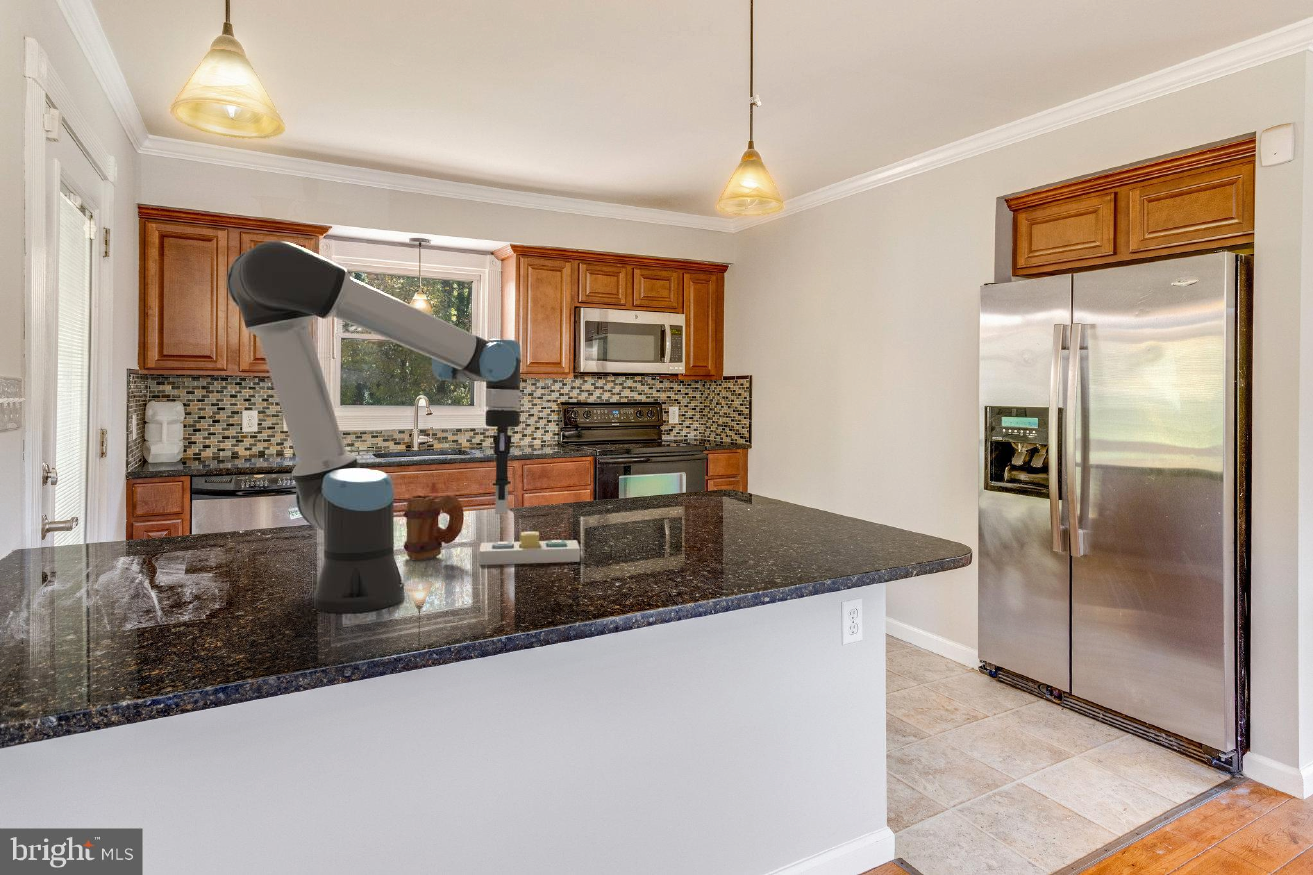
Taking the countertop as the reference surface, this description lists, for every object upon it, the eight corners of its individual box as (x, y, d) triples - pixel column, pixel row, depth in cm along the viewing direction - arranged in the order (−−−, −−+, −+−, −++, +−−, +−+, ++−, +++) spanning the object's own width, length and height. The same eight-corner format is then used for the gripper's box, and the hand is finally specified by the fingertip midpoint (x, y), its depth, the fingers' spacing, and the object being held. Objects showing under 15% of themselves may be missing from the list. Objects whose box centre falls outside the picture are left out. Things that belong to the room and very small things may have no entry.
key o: (493, 559, 161) (493, 544, 161) (494, 555, 165) (494, 541, 165) (511, 559, 162) (511, 544, 161) (512, 555, 166) (511, 540, 165)
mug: (394, 560, 161) (393, 494, 160) (416, 553, 169) (415, 489, 168) (451, 566, 157) (450, 497, 156) (471, 558, 164) (471, 492, 163)
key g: (548, 558, 163) (548, 543, 163) (547, 554, 167) (547, 539, 167) (565, 557, 164) (565, 542, 164) (564, 553, 168) (564, 539, 168)
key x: (521, 549, 162) (521, 534, 162) (520, 545, 166) (520, 531, 166) (539, 548, 163) (539, 534, 163) (538, 545, 167) (538, 530, 166)
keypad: (479, 564, 158) (479, 551, 158) (481, 555, 167) (481, 542, 167) (579, 561, 162) (579, 548, 162) (576, 552, 171) (576, 540, 171)
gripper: (520, 410, 155) (518, 518, 157) (519, 409, 168) (518, 509, 169) (484, 409, 154) (483, 518, 155) (486, 408, 167) (485, 509, 168)
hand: (501, 513), depth 162 cm, fingers closed
